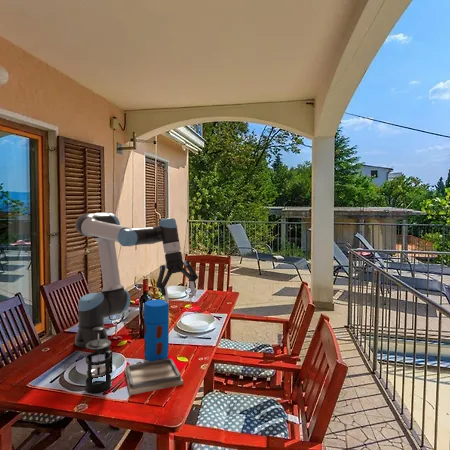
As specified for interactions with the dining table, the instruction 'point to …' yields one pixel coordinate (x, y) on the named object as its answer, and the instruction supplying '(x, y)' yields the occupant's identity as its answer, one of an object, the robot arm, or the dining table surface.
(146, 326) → the thermos
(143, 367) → the board
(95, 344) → the french press
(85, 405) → the dining table surface
